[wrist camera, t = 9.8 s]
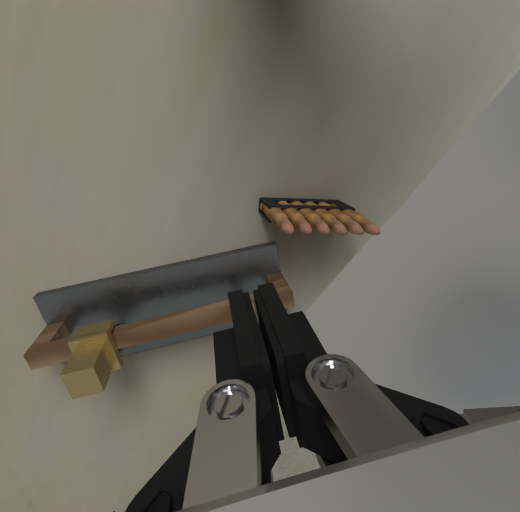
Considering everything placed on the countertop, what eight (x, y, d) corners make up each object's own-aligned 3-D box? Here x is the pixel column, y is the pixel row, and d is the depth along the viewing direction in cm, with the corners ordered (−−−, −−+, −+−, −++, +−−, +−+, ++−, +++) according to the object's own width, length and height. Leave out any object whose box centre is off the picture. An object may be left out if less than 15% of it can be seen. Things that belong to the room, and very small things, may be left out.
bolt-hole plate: (37, 292, 39) (32, 297, 37) (274, 241, 42) (276, 244, 41) (72, 362, 43) (69, 369, 42) (285, 311, 46) (287, 315, 45)
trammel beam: (47, 325, 39) (18, 361, 33) (280, 271, 42) (294, 295, 36) (60, 351, 41) (35, 390, 34) (284, 298, 44) (298, 325, 38)
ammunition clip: (339, 200, 41) (390, 224, 30) (337, 213, 42) (386, 242, 31) (259, 197, 39) (282, 222, 28) (258, 212, 40) (281, 242, 29)
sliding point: (88, 309, 39) (50, 369, 29) (121, 302, 39) (95, 358, 29) (102, 343, 41) (72, 409, 31) (133, 335, 41) (113, 398, 31)
